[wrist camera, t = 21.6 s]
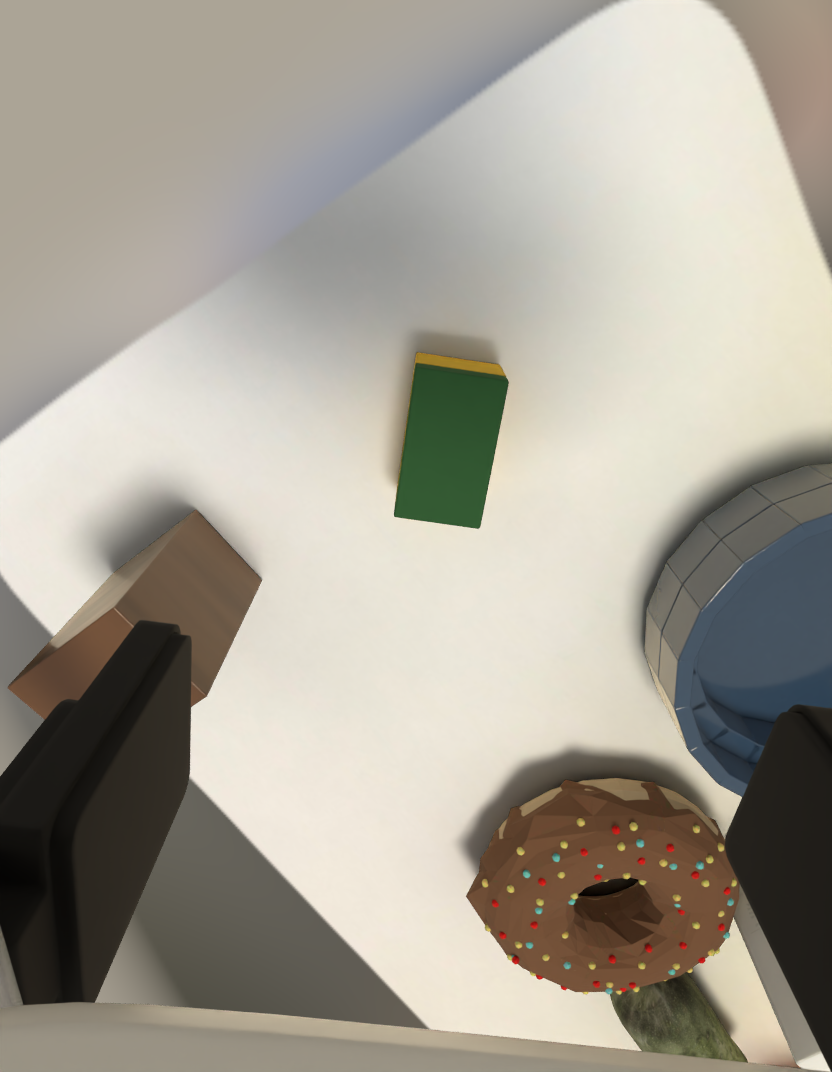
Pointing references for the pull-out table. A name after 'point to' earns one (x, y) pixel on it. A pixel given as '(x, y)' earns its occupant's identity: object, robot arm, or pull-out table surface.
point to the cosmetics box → (778, 990)
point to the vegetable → (674, 1021)
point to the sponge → (450, 440)
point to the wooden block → (149, 614)
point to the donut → (599, 855)
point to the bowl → (746, 621)
